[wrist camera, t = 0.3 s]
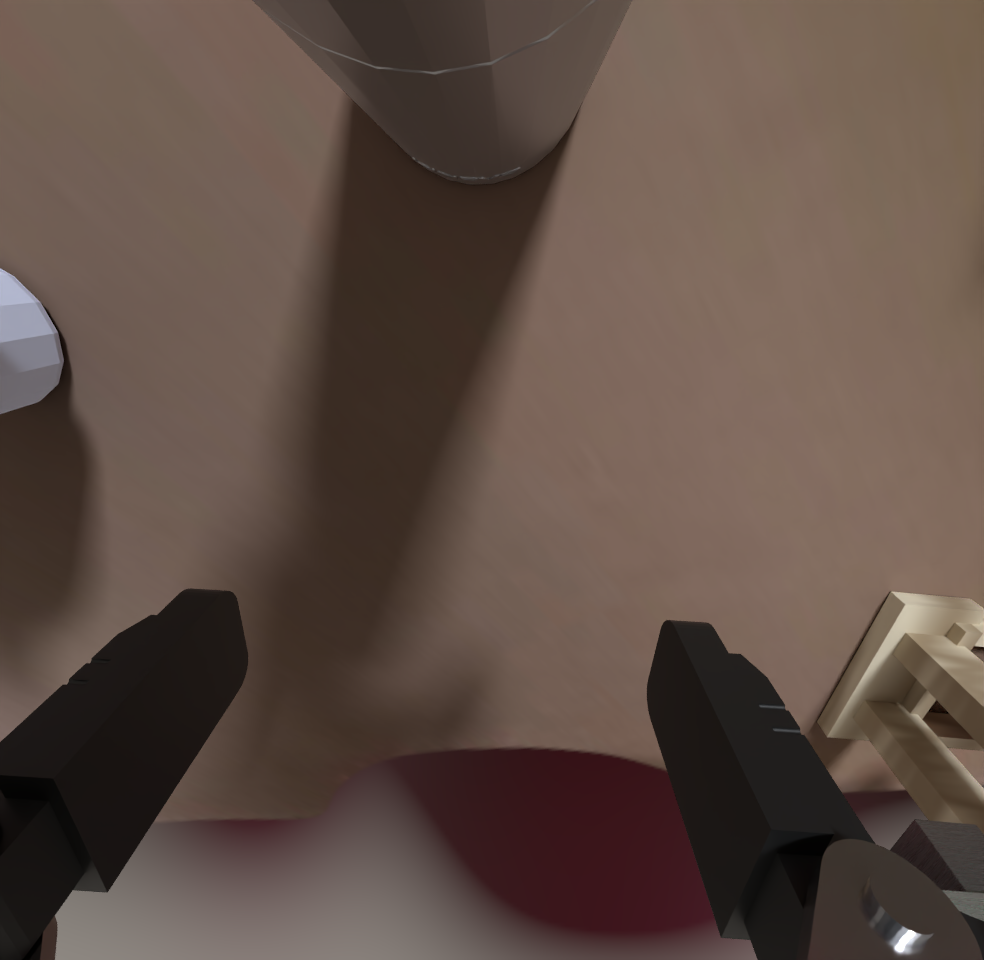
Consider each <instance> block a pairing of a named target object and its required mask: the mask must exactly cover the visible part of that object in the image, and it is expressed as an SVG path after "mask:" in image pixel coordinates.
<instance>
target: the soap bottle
mask: <svg viewBox="0 0 984 960" xmlns="http://www.w3.org/2000/svg"><path fill="white" fill-rule="evenodd" d="M63 363H64V358H63V354H62V349H61V344H60V339H59V335H58V331H57V330H56V328H55V326H54V325H53V323H52V321H51V319H50V318H49V316H48V314H47V313H46V311H45V309H44V307H43V306H42V304H41V302H40V301H39V300H38V299H37V298H36V297H35V296H34V295H33V294H32V293H31V292H29V291H28V290H27V289H26V288H25V287H24V286H23V285H22V284H21V283H20V282H19V281H18V280H17V279H16V278H15V277H14V276H13V275H11V274H9V273H7V272H6V271H4V270H2V269H0V414H3V413H6V412H9V411H12V410H15V409H19V408H22V407H25V406H28V405H31V404H34V403H38V402H39V401H41V400H42V399H43V398H44V397H45V396H46V395H47V394H48V393H49V392H51V391H52V390H53V389H54V388H55V387H56V386H57V385H58V384H59V380H60V376H61V371H62V367H63Z"/></svg>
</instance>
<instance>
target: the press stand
mask: <svg viewBox="0 0 984 960" xmlns="http://www.w3.org/2000/svg"><path fill="white" fill-rule="evenodd" d="M974 646H979V647H984V608H982V607H981V606H980V605H978V604H977V603H975V602H974V601H973V600H971V599H968V598H957V597H945V596H934V595H923V594H912V593H901V592H890V594H889V596H888V597H887V599H886V601H885V603H884V605H883V606H882V608H881V610H880V612H879V613H878V615H877V617H876V619H875V620H874V622H873V624H872V626H871V627H870V629H869V631H868V633H867V635H866V636H865V638H864V640H863V642H862V643H861V645H860V647H859V649H858V650H857V652H856V654H855V656H854V657H853V659H852V661H851V663H850V665H849V666H848V668H847V670H846V672H845V673H844V675H843V677H842V679H841V680H840V682H839V684H838V686H837V688H836V689H835V691H834V693H833V695H832V696H831V698H830V700H829V702H828V703H827V705H826V707H825V709H824V710H823V712H822V714H821V716H820V718H819V719H818V721H817V723H818V724H819V726H820V727H821V729H822V730H823V732H824V733H825V735H826V737H831V738H842V739H854V740H865V741H870V742H871V743H872V744H873V746H874V747H875V748H876V750H877V751H878V752H879V754H880V755H881V756H882V758H883V759H884V761H885V762H886V763H887V765H888V766H889V767H890V769H891V770H892V771H893V773H894V774H895V775H896V777H897V778H898V779H899V781H900V782H901V784H902V785H903V786H904V788H905V789H906V790H907V792H908V793H909V794H910V796H911V797H912V798H913V800H914V801H915V802H916V804H917V805H918V806H919V808H920V809H921V811H922V812H923V813H924V815H925V816H926V817H927V819H928V820H929V821H940V822H951V823H963V824H974V825H977V827H978V828H979V829H980V830H981V831H982V833H983V834H984V789H983V788H982V786H981V785H980V784H979V783H978V782H977V781H976V780H975V778H974V777H973V776H972V775H971V774H970V773H969V772H968V771H967V769H966V768H965V767H964V766H963V765H962V764H961V763H960V762H959V760H958V759H957V758H956V757H955V756H954V755H953V754H952V753H951V751H950V750H949V749H948V748H956V749H967V750H978V751H984V662H982V661H981V660H980V659H979V658H978V657H977V656H975V655H974V654H973V653H972V652H971V650H972V648H973V647H974ZM936 700H937V701H938V702H939V703H940V704H941V705H942V706H943V707H944V708H945V709H946V710H947V711H948V713H949V714H945V713H934V712H928V711H929V709H930V708H931V706H932V705H933V704H934V702H935V701H936Z"/></svg>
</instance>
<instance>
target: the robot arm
mask: <svg viewBox="0 0 984 960" xmlns="http://www.w3.org/2000/svg"><path fill="white" fill-rule="evenodd" d="M253 1H254V2H255V3H256V4H257V5H258V6H259V7H260V8H261V9H262V10H263V11H264V12H265V13H266V14H267V15H268V16H269V17H270V18H271V19H272V20H273V21H274V22H275V23H276V24H277V25H278V26H279V27H280V28H281V29H282V30H283V31H284V32H285V33H286V34H287V35H288V36H289V37H290V38H291V39H292V40H293V41H294V42H295V43H296V44H297V45H298V46H299V47H300V48H301V49H302V50H303V51H304V52H305V53H306V54H307V55H308V56H309V57H310V58H311V59H312V60H313V61H314V62H315V63H316V64H317V65H318V66H319V67H320V68H321V69H322V70H323V71H324V72H325V73H326V74H327V75H328V76H329V77H330V78H331V79H332V80H333V81H334V82H335V83H336V84H337V85H338V86H339V87H340V88H341V89H342V90H343V91H344V92H345V93H346V94H347V95H348V96H349V97H350V98H351V99H352V100H353V101H354V102H355V103H356V104H357V105H358V106H359V107H361V108H362V109H363V110H364V111H365V112H366V113H367V114H368V115H369V116H370V117H371V118H372V119H373V120H374V121H375V122H376V123H377V124H378V125H379V126H380V127H381V128H382V129H383V130H384V131H385V132H386V133H387V134H388V135H389V136H390V137H391V138H392V139H393V140H394V141H395V142H396V143H397V144H398V145H399V146H400V147H401V148H402V149H403V150H404V151H405V152H406V153H407V154H408V155H409V156H411V157H412V159H413V160H414V161H416V162H417V163H419V164H421V165H422V166H423V167H424V168H426V169H427V170H429V171H431V172H433V173H435V174H437V175H439V176H441V177H443V178H445V179H447V180H451V181H456V182H460V183H465V184H469V185H472V184H493V183H497V182H500V181H504V180H508V179H511V178H514V177H516V176H518V175H520V174H521V173H523V172H525V171H527V170H528V169H530V168H532V167H534V166H535V165H536V164H537V163H539V162H540V161H541V160H542V159H543V158H544V157H545V156H546V155H548V154H549V153H550V152H551V151H552V150H553V149H554V148H555V146H556V145H557V144H558V142H559V141H560V140H561V138H562V137H563V136H564V134H565V133H566V132H567V130H568V129H569V128H570V126H571V124H572V122H573V120H574V118H575V116H576V114H577V112H578V110H579V108H580V106H581V104H582V102H583V100H584V98H585V96H586V94H587V92H588V90H589V89H590V87H591V85H592V83H593V81H594V79H595V76H596V74H597V72H598V70H599V68H600V66H601V64H602V62H603V60H604V58H605V56H606V54H607V52H608V49H609V47H610V45H611V43H612V41H613V39H614V37H615V35H616V33H617V31H618V29H619V27H620V25H621V22H622V20H623V18H624V16H625V14H626V12H627V10H628V8H629V6H630V4H631V2H632V0H253ZM247 666H248V652H247V646H246V641H245V636H244V631H243V626H242V621H241V616H240V611H239V606H238V601H237V598H236V596H235V594H234V593H233V592H231V591H221V590H205V589H186V590H184V591H182V592H181V593H180V594H178V595H177V596H176V597H175V598H174V599H173V600H172V601H171V602H170V603H169V604H168V605H167V606H166V607H165V608H164V609H163V610H162V611H161V612H160V613H159V614H158V615H150V616H148V617H147V618H145V619H143V620H142V621H140V622H138V623H136V624H135V625H133V626H131V627H130V628H128V629H126V630H124V631H123V632H121V633H119V634H118V635H117V636H115V637H114V638H113V639H112V640H111V641H110V642H109V643H108V644H107V645H106V646H105V647H103V648H102V649H101V650H100V651H99V652H98V653H97V654H96V655H95V656H94V657H93V658H92V661H91V663H90V664H89V663H86V664H85V665H84V666H83V667H82V668H81V669H79V670H78V671H77V672H76V673H75V674H74V675H73V676H72V677H71V678H70V679H69V682H68V684H67V685H62V686H61V687H60V688H59V689H58V690H57V691H55V692H54V693H53V694H52V695H51V696H50V697H49V698H48V699H47V700H46V701H45V702H44V703H42V704H41V705H40V706H39V707H38V708H37V709H36V710H35V711H34V712H33V713H32V714H30V715H29V716H28V717H27V718H26V719H25V720H24V721H23V722H22V723H21V724H20V725H18V726H17V727H16V728H15V729H14V730H13V731H12V732H11V733H10V734H9V735H8V736H6V737H5V738H4V739H3V740H2V741H1V742H0V960H55V953H56V942H57V921H56V918H55V914H56V913H57V911H58V910H59V909H60V907H61V906H62V904H63V903H64V902H65V900H66V899H67V897H68V896H69V894H70V893H71V892H72V890H79V891H94V892H108V891H109V889H110V888H111V886H112V885H113V883H114V882H115V880H116V879H117V877H118V876H119V874H120V872H121V871H122V869H123V868H124V866H125V864H126V863H127V862H128V860H129V859H130V857H131V855H132V854H133V852H134V851H135V849H136V848H137V846H138V845H139V843H140V841H141V840H142V839H143V837H144V836H145V834H146V832H147V831H148V829H149V828H150V826H151V825H152V823H153V822H154V820H155V819H156V817H157V816H158V814H159V812H160V811H161V809H162V808H163V806H164V805H165V803H166V802H167V800H168V799H169V797H170V796H171V794H172V792H173V791H174V789H175V788H176V786H177V785H178V783H179V782H180V780H181V779H182V777H183V776H184V774H185V772H186V771H187V769H188V768H189V766H190V765H191V763H192V762H193V760H194V759H195V757H196V756H197V754H198V752H199V751H200V749H201V748H202V746H203V745H204V743H205V742H206V740H207V739H208V737H209V736H210V734H211V732H212V731H213V729H214V728H215V726H216V725H217V723H218V722H219V720H220V719H221V717H222V715H223V714H224V712H225V711H226V709H227V708H228V706H229V705H230V703H231V702H232V700H233V699H234V697H235V695H236V694H237V692H238V691H239V689H240V687H241V685H242V683H243V681H244V678H245V675H246V671H247ZM647 703H648V711H649V715H650V719H651V722H652V725H653V728H654V731H655V734H656V738H657V741H658V744H659V747H660V750H661V753H662V756H663V759H664V762H665V765H666V769H667V772H668V775H669V778H670V781H671V784H672V787H673V790H674V793H675V796H676V800H677V802H678V806H679V809H680V812H681V815H682V818H683V821H684V824H685V827H686V831H687V833H688V837H689V840H690V843H691V846H692V849H693V852H694V855H695V858H696V861H697V865H698V868H699V871H700V874H701V877H702V880H703V883H704V886H705V889H706V893H707V896H708V899H709V902H710V905H711V908H712V911H713V914H714V917H715V920H716V924H717V926H718V930H719V933H720V936H721V938H732V939H747V940H751V943H752V945H753V948H754V951H755V954H756V956H757V959H758V960H984V921H982V920H979V919H977V918H974V917H972V916H969V915H967V914H965V913H963V912H960V911H959V910H958V909H957V908H956V906H955V905H954V904H953V903H952V901H951V900H950V899H949V898H948V897H947V895H946V894H945V893H944V892H943V891H942V890H941V889H940V888H939V887H938V886H937V885H936V884H935V883H934V882H933V881H932V880H931V879H929V878H928V877H927V876H926V875H925V874H924V873H923V872H921V871H920V870H919V869H917V868H916V867H915V866H914V865H912V864H911V863H910V862H908V861H906V860H905V859H903V858H902V857H900V856H899V855H897V854H895V853H893V852H891V851H890V850H888V849H886V848H884V847H881V846H878V845H876V844H875V842H874V841H873V840H872V838H871V837H870V835H869V834H868V833H867V831H866V830H865V828H864V827H863V825H862V824H861V822H860V820H859V819H858V817H857V816H856V814H855V813H854V811H853V809H852V808H851V806H850V805H849V803H848V802H847V801H846V799H845V797H844V796H843V794H842V792H841V791H840V789H839V788H838V786H837V785H836V783H835V782H834V780H833V779H832V777H831V775H830V774H829V772H828V771H827V769H826V768H825V766H824V765H823V763H822V762H821V760H820V758H819V757H818V755H817V754H816V752H815V751H814V749H813V748H812V746H811V745H810V743H809V741H808V740H807V738H806V737H805V735H801V733H800V728H799V726H798V724H797V723H796V721H795V720H794V718H793V717H792V715H791V714H790V712H789V711H786V710H785V704H784V703H783V701H782V700H781V698H780V697H779V695H778V694H777V692H776V690H775V689H774V687H773V686H772V684H771V683H770V681H769V680H768V678H767V677H766V676H765V675H764V674H763V673H761V672H760V671H759V670H758V669H757V668H756V667H755V666H754V665H752V664H751V663H750V662H749V661H748V660H747V659H746V658H745V657H743V656H742V655H741V654H731V653H728V651H727V650H726V648H725V646H724V644H723V643H722V641H721V639H720V638H719V636H718V634H717V633H716V631H715V629H714V628H713V626H712V625H711V624H709V623H704V622H688V621H673V620H666V621H665V622H664V623H663V625H662V627H661V630H660V634H659V638H658V642H657V646H656V650H655V654H654V658H653V662H652V667H651V671H650V675H649V679H648V684H647Z"/></svg>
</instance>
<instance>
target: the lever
mask: <svg viewBox="0 0 984 960" xmlns="http://www.w3.org/2000/svg"><path fill="white" fill-rule="evenodd" d="M890 851H891V852H893V853H895V854H897V855H899V856H900V857H902V858H903V859H905V860H906V861H908V862H910V863H911V864H912V865H914V866H915V867H916V868H917V869H919V870H920V871H921V872H923V873H924V874H925V875H926V876H927V877H928V878H929V879H931V880H932V881H933V882H934V883H935V884H936V885H937V886H938V887H939V888H940V889H941V890H942V891H943V892H944V893H945V894H946V895H947V897H948V898H949V899H950V900H951V901H952V903H953V904H954V905H955V906H956V908H957V909H958V910H959V911H960V912H963V913H965V914H967V915H969V916H972V917H974V918H977V919H979V920H982V921H984V834H983V833H982V831H981V830H980V829H979V828H978V827H977V825H974V824H963V823H951V822H940V821H928V820H917V819H915V820H914V821H913V822H912V824H911V825H910V826H909V827H908V828H907V830H906V831H905V832H904V833H903V835H902V836H901V837H900V838H899V840H898V841H897V842H896V843H895V845H894V846H893V847H892V848H891V850H890Z"/></svg>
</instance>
